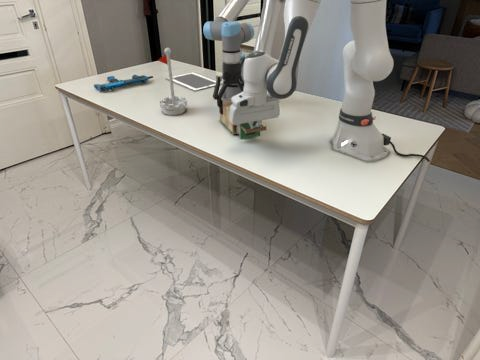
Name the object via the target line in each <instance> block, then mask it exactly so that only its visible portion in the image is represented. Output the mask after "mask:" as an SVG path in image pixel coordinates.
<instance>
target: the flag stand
mask: <svg viewBox="0 0 480 360" xmlns="http://www.w3.org/2000/svg"><path fill="white" fill-rule="evenodd" d="M163 52H164V54H165V55H163V56H161V57H160V58H159V59H157V61H158V62H160V63H162V64H165V65H167V74H168V78H169V80H168V81H169V89H170V97H169V96H165V97H163V98H162V99H160V100H159V106H160V108H161V109H162V113H163V114H165V115H170V116H176V115H180V114H184V113H185V112H186V107H187V106H188V100H187V99H186V97H185V96H180V97H179V95H175V90H174V82H173V79H172V77H173V71H172V70H173V69H172V64H171V62H172V61H171V53H172V50H171V48H170V47H166V48H164V50H163Z"/></svg>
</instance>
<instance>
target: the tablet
mask: <svg viewBox="0 0 480 360" xmlns="http://www.w3.org/2000/svg"><path fill="white" fill-rule="evenodd" d="M172 79H173V83H175V84H178V85H179V86H182V87H185V88H187V89H189V90H192V91H194V92H197V91H200V90H204V89H208V88H212V87H215V85H216V79H215V80H214V79H212V78H210V77H207V76H203V75H201V74H199V73H196V72H193V71H192V72H188V73H183V74H179V75H178V74H177V75H173V76H172ZM166 80H168V81H169V77H166ZM220 85H223V82H221V84H220Z"/></svg>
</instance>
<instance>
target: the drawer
mask: <svg viewBox="0 0 480 360" xmlns="http://www.w3.org/2000/svg"><path fill="white" fill-rule="evenodd" d="M256 124H257V121H255V122H253V124H252V125H253V126H255V125H256ZM234 129H235V131H236V132H237V133H238V134H237V135H239V139H240V140H244V139H249V138H250V139H251V138H256V137H261V132H263V131H264V132H265V131H267V129H268V127H267V126H264V125H263V124H262V123H261V125H260V126H259V127H258V128H253V129H251V126H250V125H249V123H243V124H237V125H234Z"/></svg>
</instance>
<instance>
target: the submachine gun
mask: <svg viewBox="0 0 480 360" xmlns="http://www.w3.org/2000/svg"><path fill="white" fill-rule="evenodd" d="M106 79H107V81H108V83H102V84H99V83H94V84H93V88H94V89H95V90H97V91H99V92H106V91H108V92H109V91H111V92H113V91H114V90H115V89H119V88H124V87H128V86H133V85H138V84H141V83H142V84H144V83H147V82H148V81H149V80H150V79H154V75H150V76H147V75H144V74H143V75H138V74H133V75H132V76H131V78H128V79H117V78H116V77H115V76H113V75H110V76H107V78H106Z"/></svg>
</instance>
